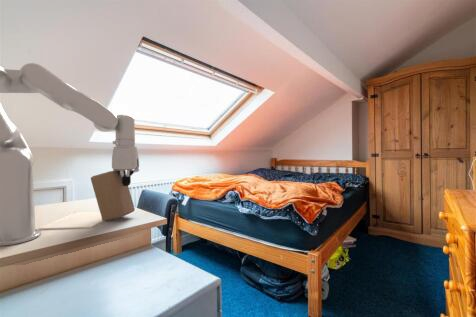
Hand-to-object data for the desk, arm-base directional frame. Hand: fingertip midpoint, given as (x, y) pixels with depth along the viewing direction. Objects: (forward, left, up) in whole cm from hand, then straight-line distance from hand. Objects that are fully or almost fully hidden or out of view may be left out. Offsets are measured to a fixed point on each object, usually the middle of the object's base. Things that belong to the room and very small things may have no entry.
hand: (126, 185), depth 101 cm
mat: (-19, 0, -15) cm, 24 cm away
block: (-3, 0, -14) cm, 14 cm away
